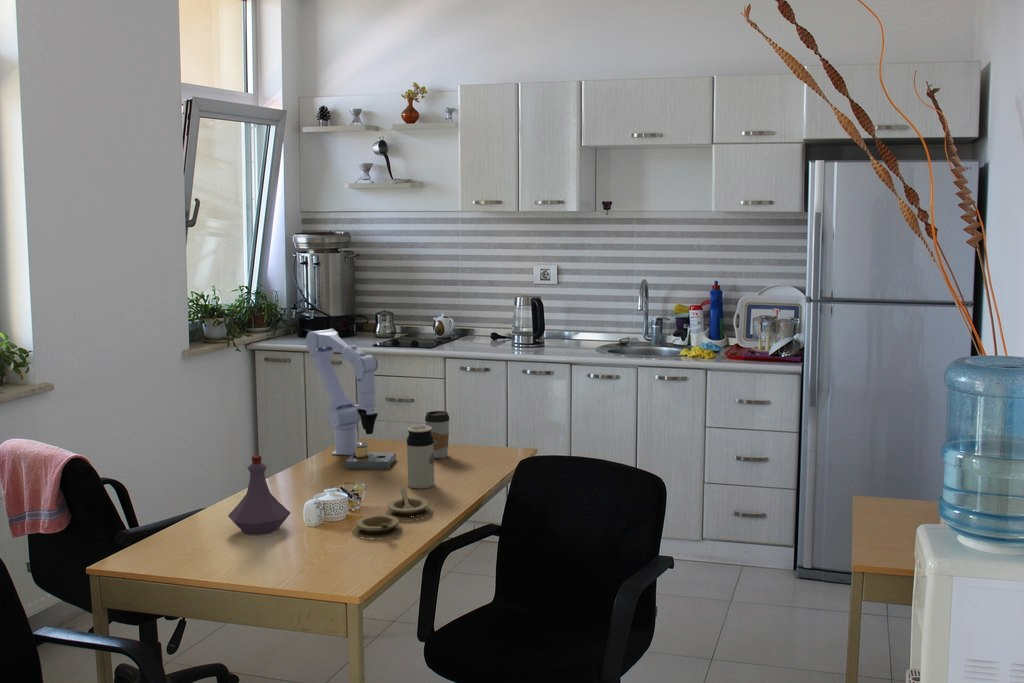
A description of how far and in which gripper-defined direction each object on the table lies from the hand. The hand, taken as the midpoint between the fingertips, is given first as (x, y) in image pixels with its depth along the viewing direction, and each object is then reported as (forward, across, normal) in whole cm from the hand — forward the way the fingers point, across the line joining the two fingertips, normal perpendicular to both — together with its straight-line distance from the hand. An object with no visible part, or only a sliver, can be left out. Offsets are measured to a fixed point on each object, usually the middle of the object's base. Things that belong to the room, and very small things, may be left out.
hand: (367, 431), depth 345 cm
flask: (+10, +66, -38) cm, 76 cm away
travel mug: (+10, +38, +11) cm, 40 cm away
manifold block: (+9, +7, 0) cm, 12 cm away
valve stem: (+9, +6, -3) cm, 12 cm away
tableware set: (+11, +70, -2) cm, 71 cm away
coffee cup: (+10, +4, +23) cm, 25 cm away
